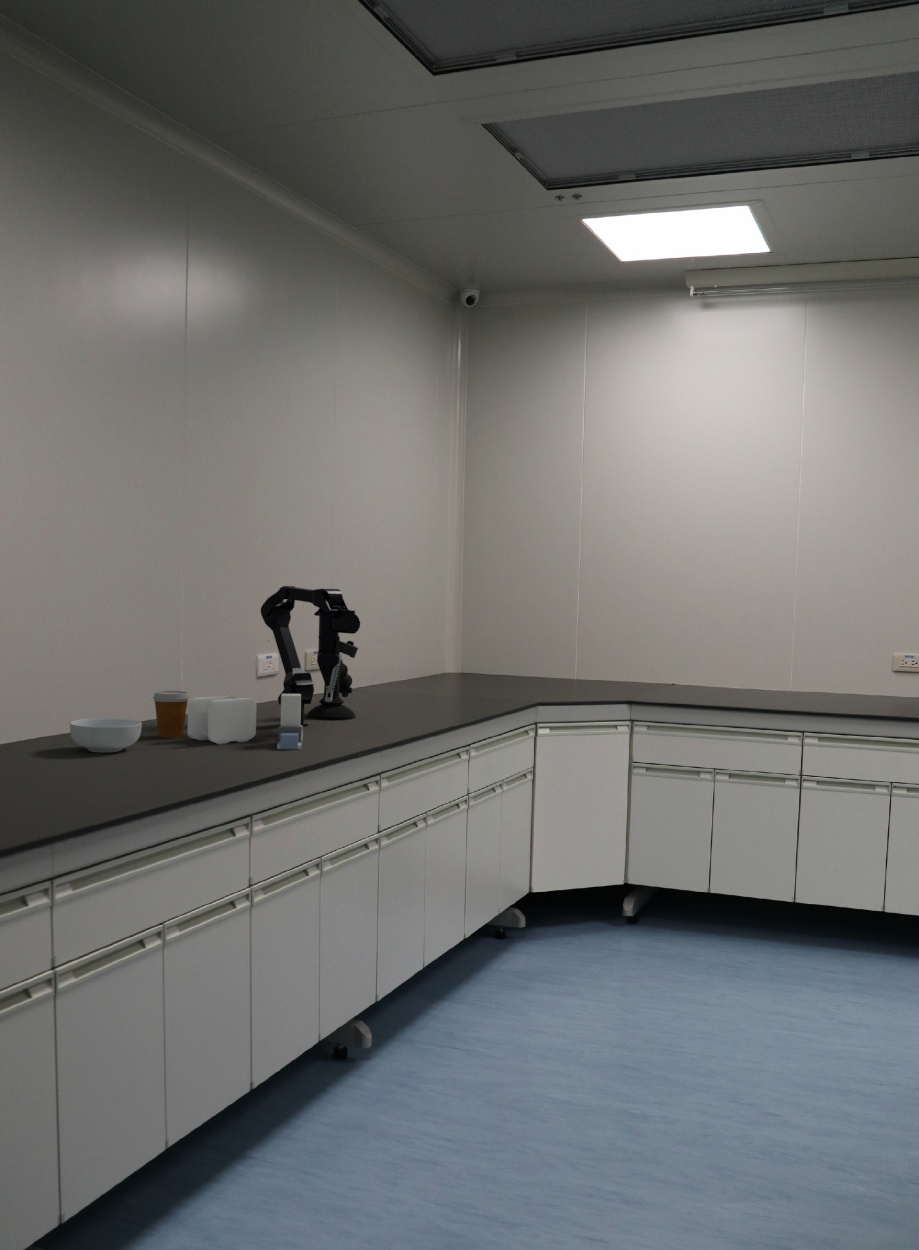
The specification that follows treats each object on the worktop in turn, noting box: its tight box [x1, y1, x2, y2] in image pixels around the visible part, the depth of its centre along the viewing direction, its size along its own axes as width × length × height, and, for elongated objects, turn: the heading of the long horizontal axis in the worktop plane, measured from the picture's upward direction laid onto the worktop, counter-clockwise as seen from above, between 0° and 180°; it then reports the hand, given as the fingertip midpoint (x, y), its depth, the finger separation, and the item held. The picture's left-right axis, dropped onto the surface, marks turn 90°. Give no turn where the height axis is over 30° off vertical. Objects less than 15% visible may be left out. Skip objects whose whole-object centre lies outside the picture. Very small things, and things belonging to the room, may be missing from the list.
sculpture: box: [306, 652, 356, 721], centre depth 337 cm, size 15×24×25 cm, turn 170°
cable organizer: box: [186, 695, 257, 745], centre depth 278 cm, size 15×11×12 cm
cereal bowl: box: [69, 717, 143, 754], centre depth 259 cm, size 17×17×7 cm
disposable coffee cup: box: [152, 690, 190, 739], centre depth 283 cm, size 10×10×12 cm
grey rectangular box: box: [280, 694, 301, 726], centre depth 276 cm, size 5×5×12 cm
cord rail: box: [276, 725, 304, 750], centre depth 279 cm, size 24×6×5 cm, turn 7°
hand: (327, 685), depth 302 cm, fingers closed
